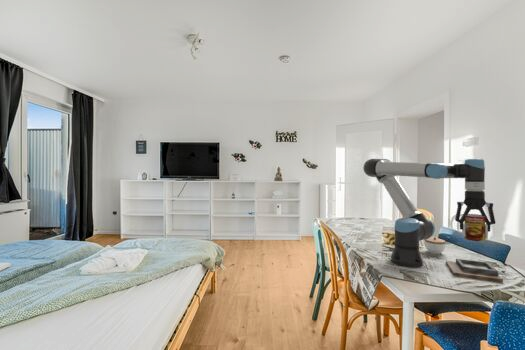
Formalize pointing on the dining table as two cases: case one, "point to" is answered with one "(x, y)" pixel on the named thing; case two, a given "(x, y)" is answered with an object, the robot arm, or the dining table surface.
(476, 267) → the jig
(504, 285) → the dining table surface
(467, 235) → the canned food
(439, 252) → the lidded jar
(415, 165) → the robot arm
